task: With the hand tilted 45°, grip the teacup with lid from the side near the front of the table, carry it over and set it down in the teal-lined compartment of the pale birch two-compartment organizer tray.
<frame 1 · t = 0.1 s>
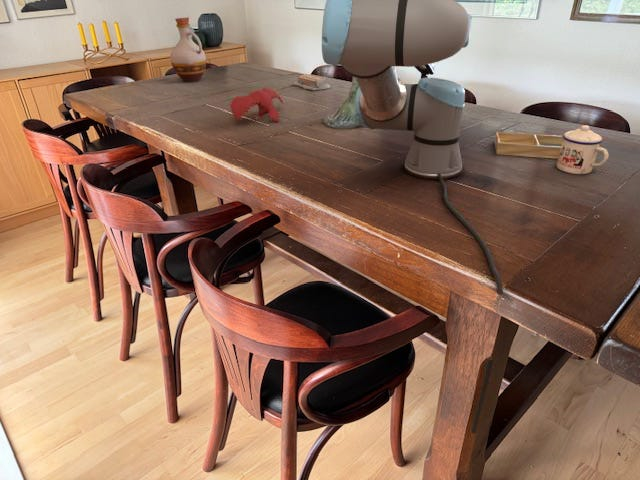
hand: (400, 87, 143), 15 cm above the table, tool tilted 35°, fingers open, 13 cm apart
tree stump: (350, 121, 166), on the table
red animal figurine: (264, 120, 170), on the table
jug: (192, 81, 238), on the table
packaged product: (311, 87, 219), on the table
teacup with lid: (578, 171, 122), on the table
organizer: (534, 150, 135), on the table
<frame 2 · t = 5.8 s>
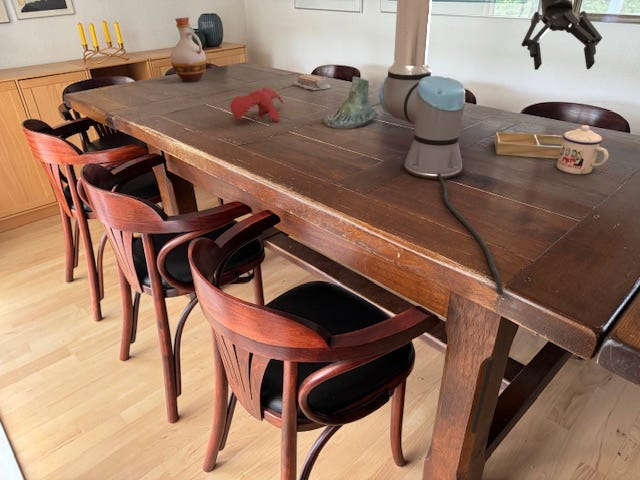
hand: (564, 66, 121), 24 cm above the table, tool tilted 45°, fingers open, 13 cm apart
nothing on the table moved.
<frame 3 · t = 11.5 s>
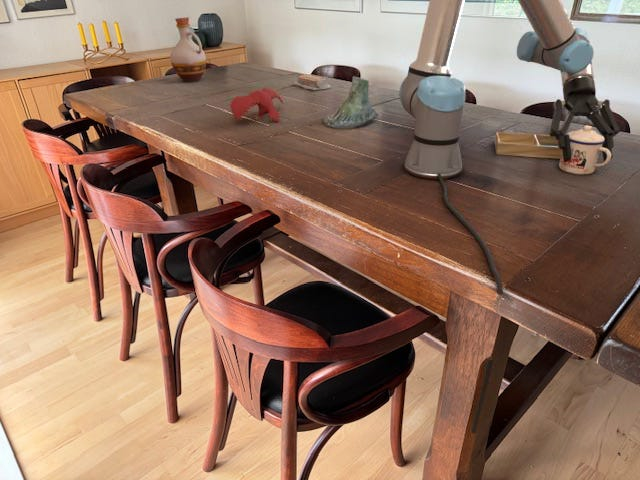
hand: (587, 160, 117), 4 cm above the table, tool tilted 45°, fingers closed on teacup with lid, 9 cm apart
teacup with lid: (580, 171, 121), on the table, touching gripper
everything else where it was.
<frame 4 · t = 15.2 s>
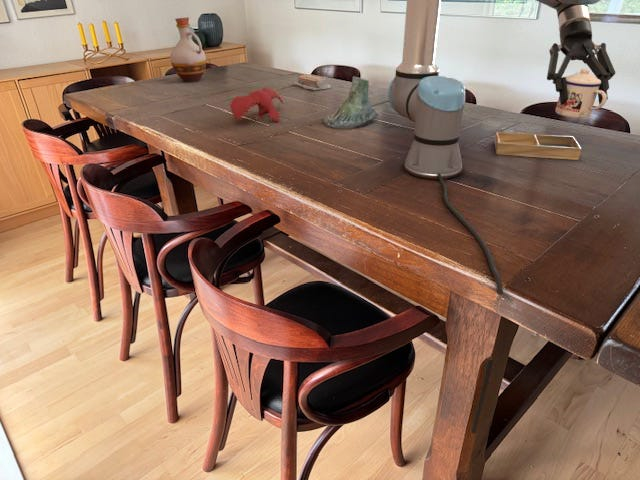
hand: (583, 101, 118), 17 cm above the table, tool tilted 45°, fingers closed on teacup with lid, 9 cm apart
teacup with lid: (576, 115, 123), point 12 cm above the table, touching gripper
everything else where it was.
when the fingers open (7 cm above the table, at t = 19.2 s): teacup with lid drops 2 cm, resting on organizer.
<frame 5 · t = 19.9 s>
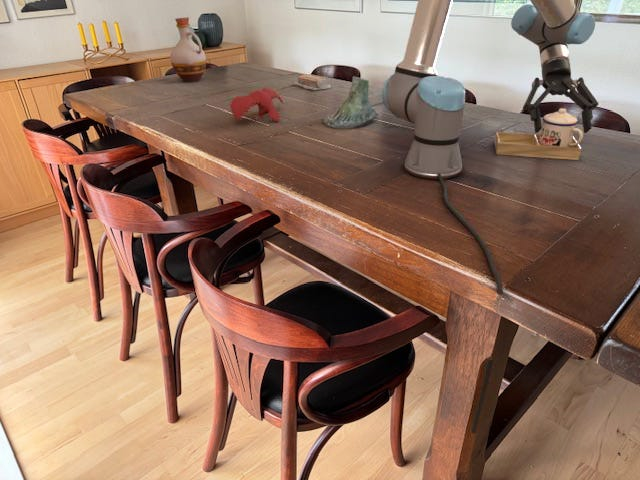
hand: (563, 130, 128), 7 cm above the table, tool tilted 45°, fingers open, 13 cm apart
teacup with lid: (557, 150, 133), point 1 cm above the table, touching organizer
everything else where it was.
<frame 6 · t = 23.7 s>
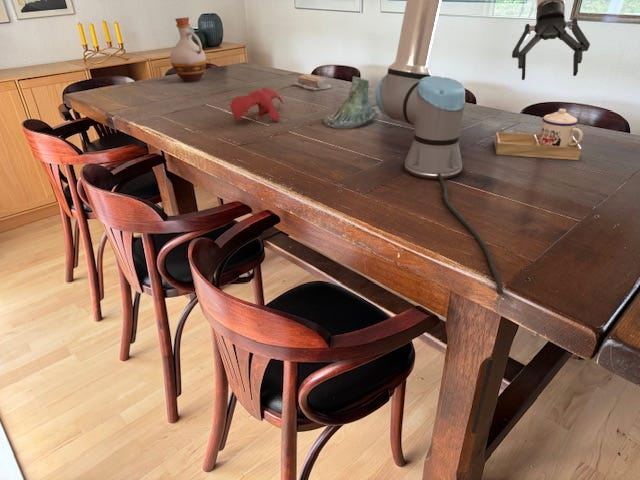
hand: (549, 75, 131), 20 cm above the table, tool tilted 40°, fingers open, 13 cm apart
nothing on the table moved.
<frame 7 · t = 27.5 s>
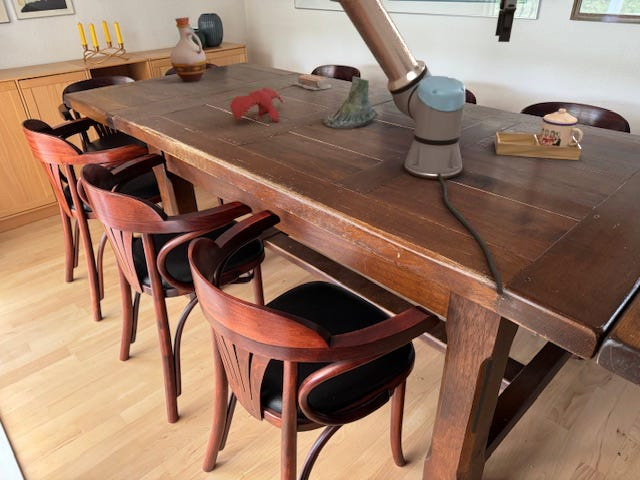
hand: (501, 38, 123), 31 cm above the table, tool pointing down, fingers open, 13 cm apart
nothing on the table moved.
at the end: teacup with lid 0.8 cm from the target spot in the organizer, point 0.6 cm above the organizer's base; teacup with lid tilted 0°; the gripper is holding nothing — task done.
